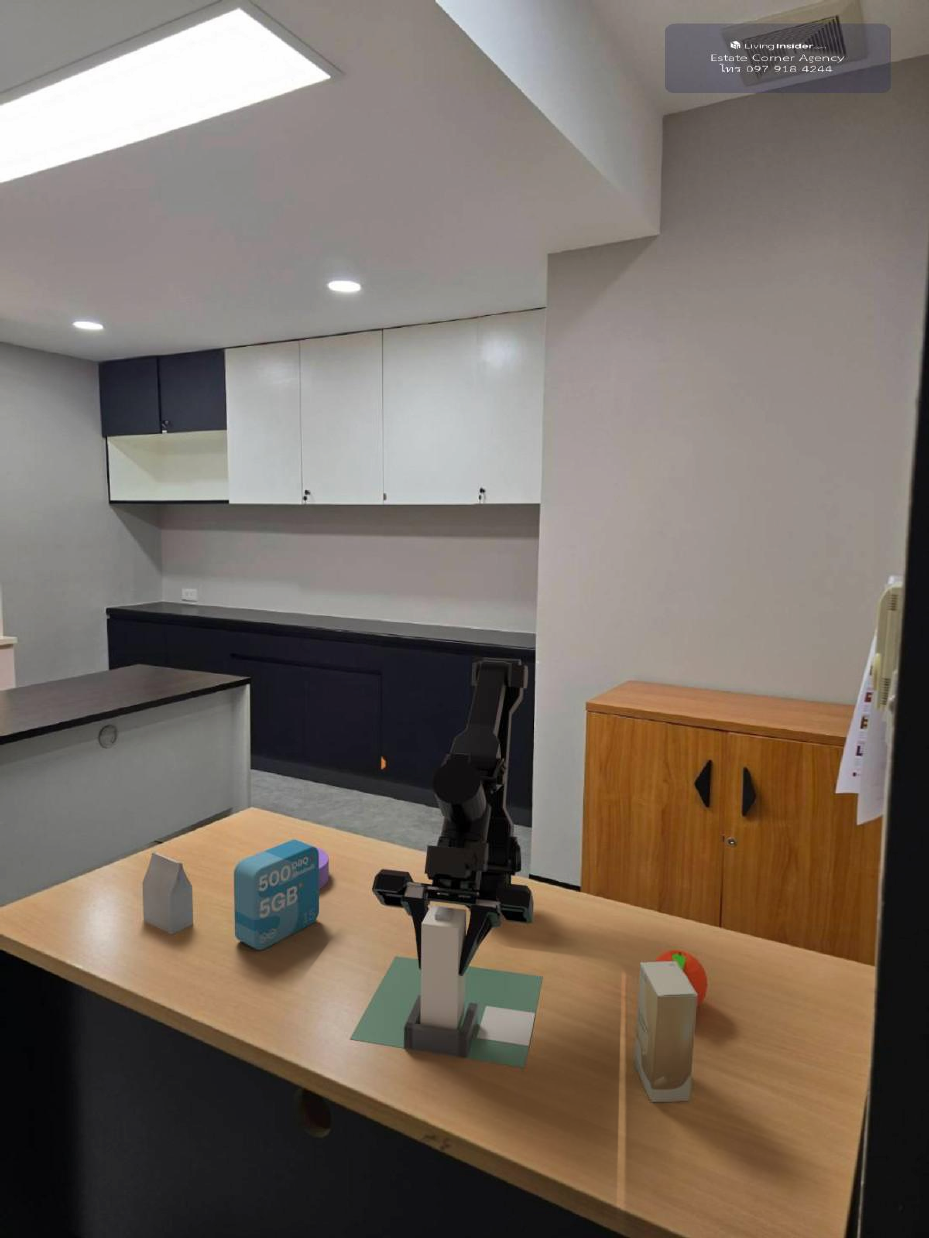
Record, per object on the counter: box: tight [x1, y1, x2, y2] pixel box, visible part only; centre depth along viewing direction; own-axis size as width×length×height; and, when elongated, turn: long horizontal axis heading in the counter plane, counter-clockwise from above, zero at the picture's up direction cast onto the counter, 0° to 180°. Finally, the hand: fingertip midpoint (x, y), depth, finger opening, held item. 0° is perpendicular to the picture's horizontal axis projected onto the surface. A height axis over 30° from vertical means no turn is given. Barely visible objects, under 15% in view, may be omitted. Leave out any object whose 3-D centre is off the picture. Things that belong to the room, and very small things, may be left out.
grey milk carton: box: [141, 851, 194, 935], centre depth 113 cm, size 4×7×10 cm, turn 55°
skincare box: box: [633, 961, 698, 1103], centre depth 82 cm, size 6×4×12 cm
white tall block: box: [420, 904, 467, 1030], centre depth 88 cm, size 4×4×14 cm
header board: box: [349, 955, 543, 1069], centre depth 93 cm, size 18×20×4 cm
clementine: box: [653, 949, 708, 1007], centre depth 95 cm, size 8×7×7 cm
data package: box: [233, 839, 320, 951], centre depth 111 cm, size 12×4×12 cm, turn 143°
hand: (440, 972), depth 86 cm, fingers closed on white tall block, 4 cm apart
